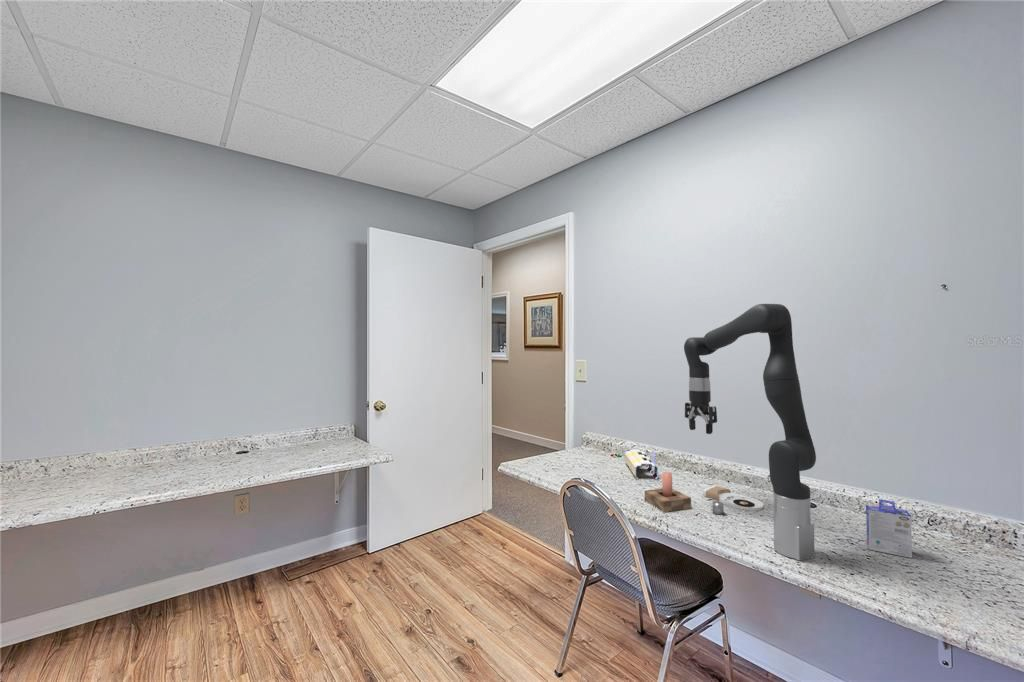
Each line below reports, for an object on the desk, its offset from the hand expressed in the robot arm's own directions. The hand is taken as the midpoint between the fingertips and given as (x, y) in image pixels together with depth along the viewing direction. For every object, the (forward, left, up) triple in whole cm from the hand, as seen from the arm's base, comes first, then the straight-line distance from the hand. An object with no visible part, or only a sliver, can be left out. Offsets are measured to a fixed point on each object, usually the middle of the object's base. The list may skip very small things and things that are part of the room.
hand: (700, 431), depth 159 cm
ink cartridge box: (-45, -28, -29) cm, 60 cm away
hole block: (+5, +12, -28) cm, 31 cm away
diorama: (+44, -3, -29) cm, 53 cm away
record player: (0, -16, -29) cm, 33 cm away
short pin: (-8, 0, -29) cm, 30 cm away
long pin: (+5, +11, -28) cm, 31 cm away
